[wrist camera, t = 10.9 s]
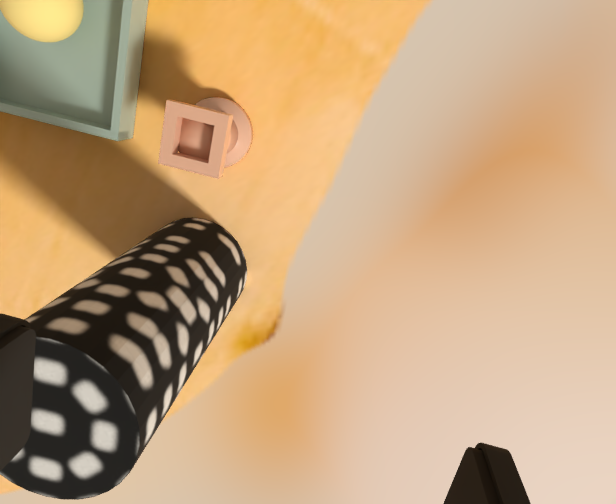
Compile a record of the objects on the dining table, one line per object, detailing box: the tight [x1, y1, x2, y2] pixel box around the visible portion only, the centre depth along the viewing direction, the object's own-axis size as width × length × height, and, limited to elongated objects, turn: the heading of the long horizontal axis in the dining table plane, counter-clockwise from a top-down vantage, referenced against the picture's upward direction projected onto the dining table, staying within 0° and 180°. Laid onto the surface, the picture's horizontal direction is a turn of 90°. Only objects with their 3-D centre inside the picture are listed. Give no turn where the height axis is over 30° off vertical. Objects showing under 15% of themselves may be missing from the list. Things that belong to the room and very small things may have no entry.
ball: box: [0, 0, 84, 42], centre depth 32 cm, size 5×5×5 cm
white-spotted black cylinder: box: [0, 218, 247, 499], centre depth 31 cm, size 8×8×20 cm
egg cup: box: [158, 97, 253, 179], centre depth 34 cm, size 5×5×6 cm
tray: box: [0, 0, 148, 141], centre depth 34 cm, size 16×11×2 cm
